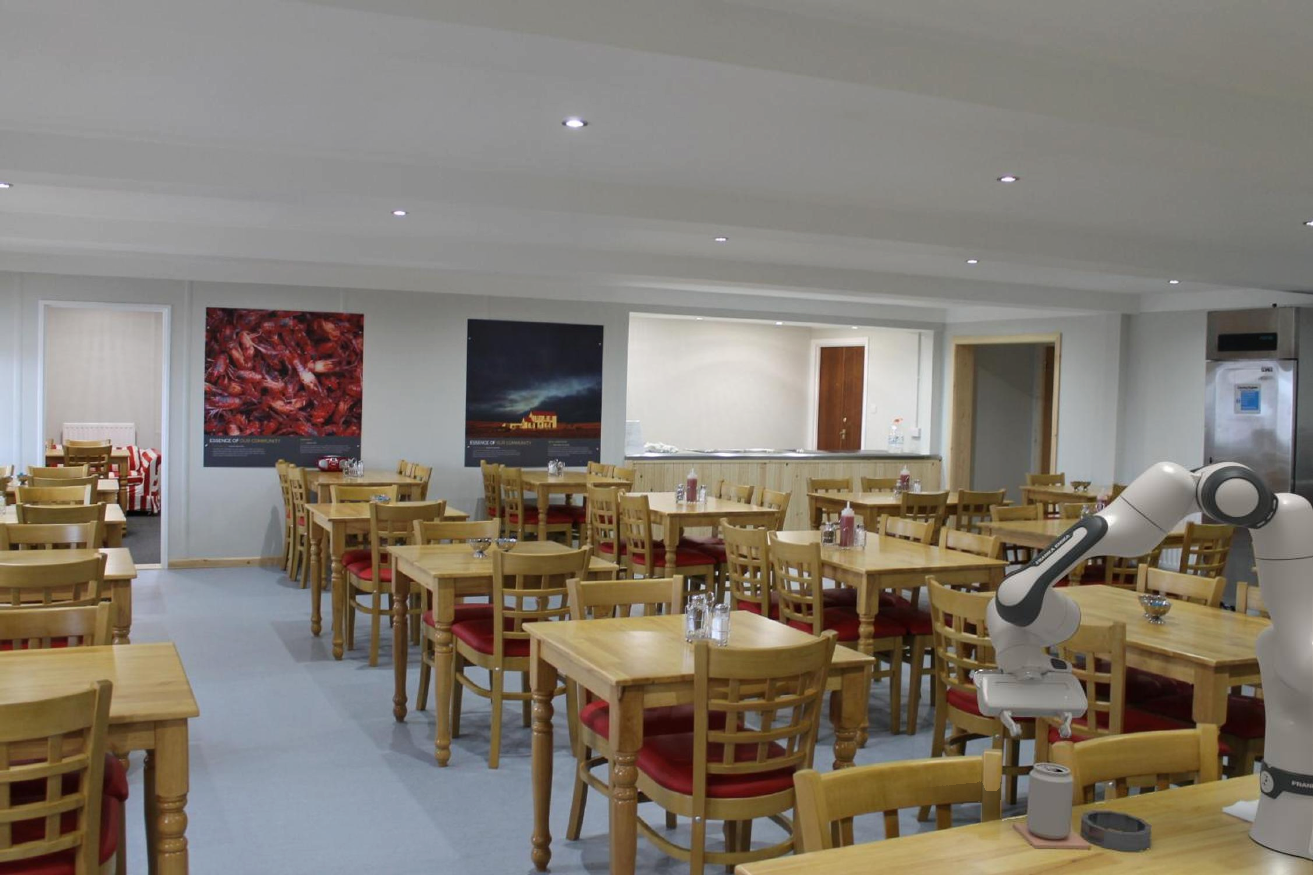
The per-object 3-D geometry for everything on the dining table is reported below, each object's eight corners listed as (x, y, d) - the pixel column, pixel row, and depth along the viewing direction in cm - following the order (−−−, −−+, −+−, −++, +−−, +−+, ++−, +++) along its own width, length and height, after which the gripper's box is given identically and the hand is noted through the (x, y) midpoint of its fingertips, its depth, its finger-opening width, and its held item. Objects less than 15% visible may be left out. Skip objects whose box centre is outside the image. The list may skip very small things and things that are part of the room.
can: (1074, 842, 198) (1078, 774, 198) (1031, 838, 199) (1034, 770, 199) (1064, 828, 206) (1068, 762, 206) (1022, 824, 207) (1026, 758, 207)
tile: (1065, 827, 208) (1065, 824, 208) (1090, 848, 198) (1090, 845, 198) (1012, 826, 207) (1013, 823, 207) (1035, 848, 197) (1035, 844, 197)
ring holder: (1130, 826, 210) (1131, 810, 210) (1162, 851, 198) (1163, 834, 198) (1070, 825, 209) (1071, 809, 209) (1099, 850, 197) (1100, 833, 197)
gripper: (975, 660, 214) (992, 726, 205) (1079, 662, 216) (1100, 728, 207) (965, 677, 219) (981, 742, 210) (1067, 680, 221) (1088, 744, 211)
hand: (1041, 735), depth 208 cm, fingers open, 8 cm apart
